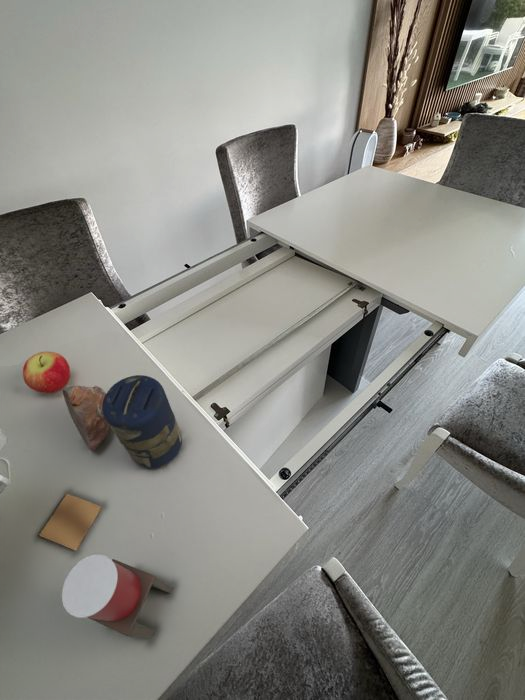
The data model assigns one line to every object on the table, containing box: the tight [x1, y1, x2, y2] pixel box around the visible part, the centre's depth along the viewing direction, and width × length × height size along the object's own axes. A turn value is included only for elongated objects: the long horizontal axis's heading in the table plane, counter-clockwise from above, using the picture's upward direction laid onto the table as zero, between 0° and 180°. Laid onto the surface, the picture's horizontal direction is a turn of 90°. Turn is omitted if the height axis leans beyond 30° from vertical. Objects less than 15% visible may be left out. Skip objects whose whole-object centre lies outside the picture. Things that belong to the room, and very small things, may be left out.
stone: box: [62, 385, 110, 452], centre depth 65 cm, size 13×8×10 cm
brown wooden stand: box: [88, 558, 173, 639], centre depth 45 cm, size 6×6×11 cm
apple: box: [22, 350, 71, 394], centre depth 71 cm, size 8×8×10 cm
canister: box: [102, 374, 183, 469], centre depth 58 cm, size 10×10×18 cm
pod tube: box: [61, 554, 141, 622], centre depth 38 cm, size 5×5×9 cm
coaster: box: [38, 493, 103, 552], centre depth 57 cm, size 7×7×1 cm
